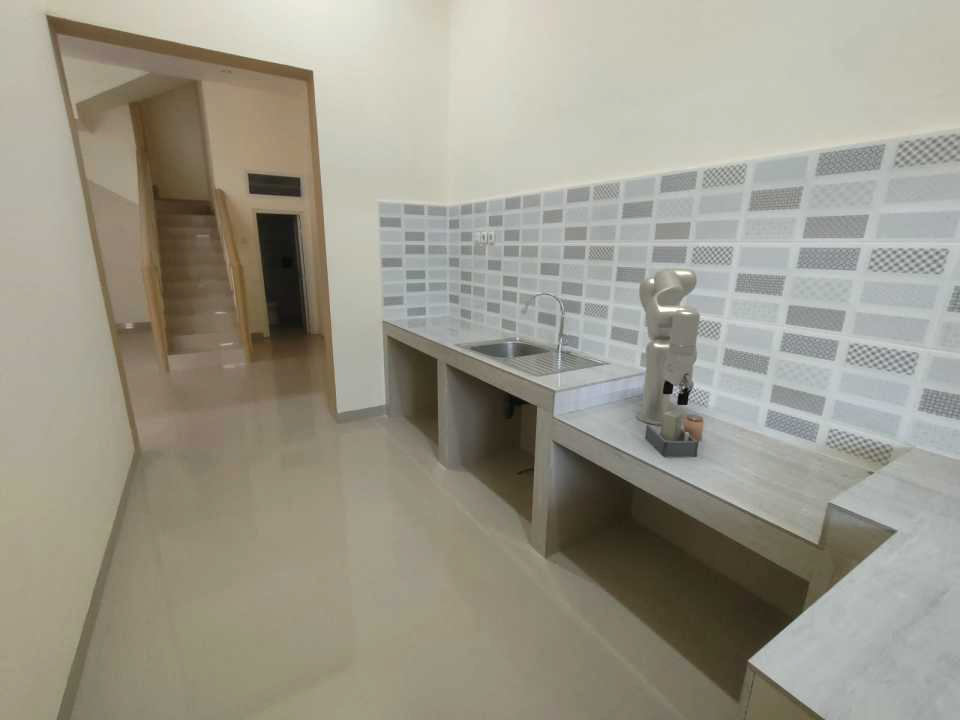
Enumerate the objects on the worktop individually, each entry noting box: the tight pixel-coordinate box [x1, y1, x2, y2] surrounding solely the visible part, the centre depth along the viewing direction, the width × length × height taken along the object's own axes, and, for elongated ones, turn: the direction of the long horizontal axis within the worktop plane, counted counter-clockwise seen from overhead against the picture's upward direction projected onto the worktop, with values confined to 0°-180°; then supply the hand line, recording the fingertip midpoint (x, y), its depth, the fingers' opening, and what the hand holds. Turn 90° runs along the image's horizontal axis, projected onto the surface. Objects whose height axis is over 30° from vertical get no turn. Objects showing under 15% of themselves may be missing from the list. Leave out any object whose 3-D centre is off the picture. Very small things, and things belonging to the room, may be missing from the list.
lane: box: [644, 424, 700, 458], centre depth 139 cm, size 14×11×5 cm
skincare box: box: [659, 408, 685, 441], centre depth 139 cm, size 6×4×12 cm
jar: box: [682, 414, 705, 442], centre depth 146 cm, size 6×6×8 cm
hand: (674, 399), depth 137 cm, fingers open, 9 cm apart
